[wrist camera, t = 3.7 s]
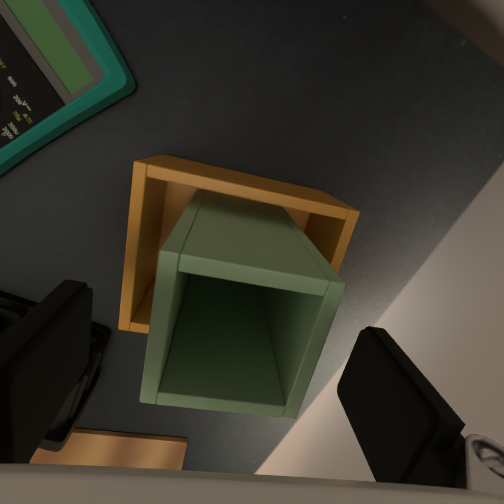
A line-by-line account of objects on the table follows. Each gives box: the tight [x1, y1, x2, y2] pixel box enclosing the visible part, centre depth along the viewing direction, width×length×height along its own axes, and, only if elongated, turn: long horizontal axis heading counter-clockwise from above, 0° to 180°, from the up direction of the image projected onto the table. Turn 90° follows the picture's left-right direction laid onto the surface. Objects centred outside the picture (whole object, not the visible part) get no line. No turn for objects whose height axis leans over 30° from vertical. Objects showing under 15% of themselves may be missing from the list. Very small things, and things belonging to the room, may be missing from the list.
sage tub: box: [140, 188, 346, 419], centre depth 16 cm, size 6×6×12 cm
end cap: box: [0, 292, 110, 452], centre depth 21 cm, size 10×7×7 cm
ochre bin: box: [118, 154, 360, 334], centre depth 19 cm, size 11×9×7 cm
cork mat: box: [30, 428, 188, 470], centre depth 30 cm, size 14×14×1 cm
